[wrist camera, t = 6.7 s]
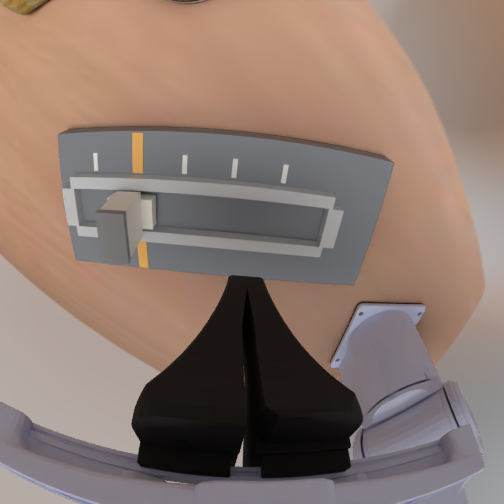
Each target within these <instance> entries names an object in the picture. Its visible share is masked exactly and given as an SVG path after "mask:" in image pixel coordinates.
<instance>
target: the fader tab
mask: <svg viewBox="0 0 504 504" xmlns="http://www.w3.org/2000/svg"><path fill="white" fill-rule="evenodd" d="M95 219H96V226H97V233H98V239H99V246H100V251H101V257H102V261H103V262H112V263H121V264H129V263H130V261H131V257H132V255H133V253H134V251H135V249H136V248H137V246H138V244H139V242H140V240H141V238H142V237H143V229H151V230H153V229H154V227H155V225H156V195H151V194H141V192H127V191H116V192H115V193H112V194H111V195H110V196H109V197H108V198H107V202H106V203H105V204H104V205H103V206H102V207H101V208H100V209H97V211H96V212H95Z"/></svg>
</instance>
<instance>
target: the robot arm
mask: <svg viewBox="0 0 504 504" xmlns="http://www.w3.org/2000/svg"><path fill="white" fill-rule="evenodd" d="M425 309H426V307H425V306H424V305H423V304H374V303H362V304H360V305H358V307H357V309H356V311H355V313H354V315H353V317H352V320H351V322H350V324H349V326H348V328H347V330H346V332H345V334H344V336H343V338H342V341H341V343H340V345H339V347H338V349H337V351H336V353H335V355H334V356H333V358H332V360H331V362H330V366H331V367H332V368H339V372H340V376H341V380H342V383H340V382H339V381H338V380H336V379H335V378H334V377H333V376H331V375H330V374H329V373H328V372H327V371H326V370H325V369H324V368H323V367H321V366H320V365H319V364H318V363H317V362H316V361H315V360H314V359H313V358H312V357H311V356H310V354H309V353H308V352H307V351H306V350H305V349H304V348H303V346H302V345H301V344H300V343H299V342H298V340H297V339H296V338H295V336H294V335H293V334H292V332H291V331H290V329H289V328H288V326H287V325H286V323H285V322H284V320H283V319H282V317H281V315H280V314H279V312H278V310H277V308H276V307H275V305H274V303H273V301H272V299H271V297H270V295H269V293H268V290H267V288H266V286H265V283H264V280H263V279H262V278H261V277H250V276H238V275H231V276H229V277H228V282H227V285H226V288H225V291H224V293H223V295H222V297H221V299H220V301H219V303H218V305H217V307H216V309H215V311H214V312H213V314H212V315H211V317H210V319H209V320H208V322H207V323H206V325H205V326H204V328H203V329H202V330H201V332H200V333H199V334H198V336H197V337H196V338H195V339H194V340H193V342H192V343H191V344H190V345H189V346H188V347H187V349H186V350H185V351H184V352H183V353H182V354H181V355H180V356H179V357H178V358H177V359H176V360H175V361H174V362H173V363H171V364H170V365H169V366H168V367H167V368H166V369H165V370H164V371H163V372H161V373H160V374H159V375H157V376H156V377H155V378H154V379H152V380H151V381H150V382H148V383H147V384H146V386H145V387H144V389H143V391H142V393H141V394H140V397H139V399H138V401H137V404H136V406H135V409H134V414H133V418H132V423H131V424H132V428H133V430H134V432H135V433H136V435H137V437H138V438H139V440H140V447H139V453H138V455H136V454H131V453H126V452H122V451H117V450H114V449H110V448H106V447H102V446H99V445H95V444H91V443H88V442H84V441H81V440H79V439H75V438H72V437H69V436H66V435H64V434H61V433H58V432H55V431H53V430H50V429H47V428H45V427H42V426H40V425H37V424H35V423H32V421H31V420H30V418H29V417H28V416H26V415H25V414H24V413H22V412H21V411H19V410H16V409H15V408H13V407H10V406H8V405H6V404H4V403H2V402H0V465H1V466H3V467H4V468H6V469H8V470H9V471H11V472H12V473H14V474H16V475H18V476H19V477H21V478H23V479H25V480H27V481H29V482H32V483H33V484H35V485H38V486H39V487H42V488H44V489H46V490H48V491H50V492H53V493H55V494H57V495H60V496H62V497H65V498H67V499H70V500H72V501H75V502H77V503H80V504H469V503H468V500H467V497H466V493H465V490H464V485H465V484H466V482H467V481H468V479H469V478H470V477H472V476H474V475H476V474H478V473H479V472H481V471H483V470H484V469H485V465H484V462H483V458H482V452H483V444H482V440H481V438H480V435H479V430H478V427H477V424H476V421H475V418H474V416H473V413H472V411H471V409H470V406H469V404H468V402H467V399H466V397H465V395H464V393H463V391H462V389H461V388H460V385H459V384H458V383H457V382H454V381H453V382H452V381H451V380H448V381H447V382H446V383H443V382H442V381H441V379H440V377H439V374H438V372H437V370H436V368H435V365H434V363H433V361H432V359H431V357H430V355H429V353H428V351H427V349H426V346H425V344H424V342H423V340H422V338H421V336H420V334H419V332H418V330H417V328H416V327H415V326H416V325H417V323H418V321H419V320H420V318H421V316H422V315H423V313H424V311H425ZM360 312H361V313H360ZM243 366H244V369H243ZM244 377H245V385H244ZM360 425H362V426H363V428H361V429H359V430H358V431H357V433H356V436H355V440H354V442H353V457H354V460H350V457H349V452H348V449H349V448H350V446H351V444H350V439H349V437H350V436H351V435H352V434H353V433H354V432H355V431H356V430H357V429H358V428H359V427H360ZM243 438H244V442H243ZM242 442H243V467H235V463H236V459H237V456H238V454H239V452H240V449H241V445H242ZM165 480H166V481H173V482H180V483H188V484H180V483H168V482H166V481H165Z"/></svg>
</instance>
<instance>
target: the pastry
mask: <svg viewBox="0 0 504 504" xmlns="http://www.w3.org/2000/svg"><path fill="white" fill-rule="evenodd" d="M46 1H48V0H0V2H1V3H2V5H3V6H5V7H7V8H8V9H10V10H12V11H13V12H16V13H18V14H20V15H25V14H27V13H29V12H30V11H32V10H34V9H35V8H37V7H38V6H40V5H41V4H43V3H45V2H46Z"/></svg>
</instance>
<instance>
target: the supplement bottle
mask: <svg viewBox="0 0 504 504" xmlns="http://www.w3.org/2000/svg"><path fill="white" fill-rule="evenodd" d="M169 1H172V2H176V3H196V2H201V1H205V0H169Z"/></svg>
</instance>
